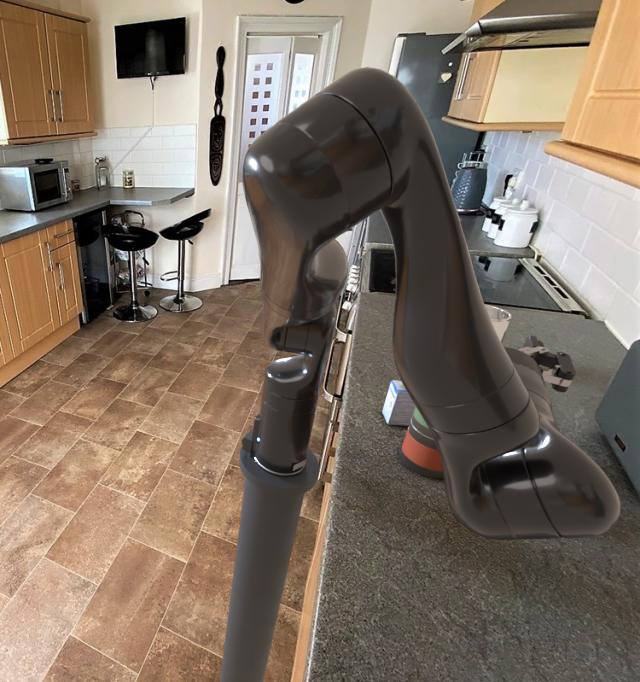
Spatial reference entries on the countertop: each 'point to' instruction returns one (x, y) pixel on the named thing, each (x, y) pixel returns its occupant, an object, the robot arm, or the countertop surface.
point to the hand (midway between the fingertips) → (488, 334)
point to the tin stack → (421, 449)
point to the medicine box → (398, 405)
